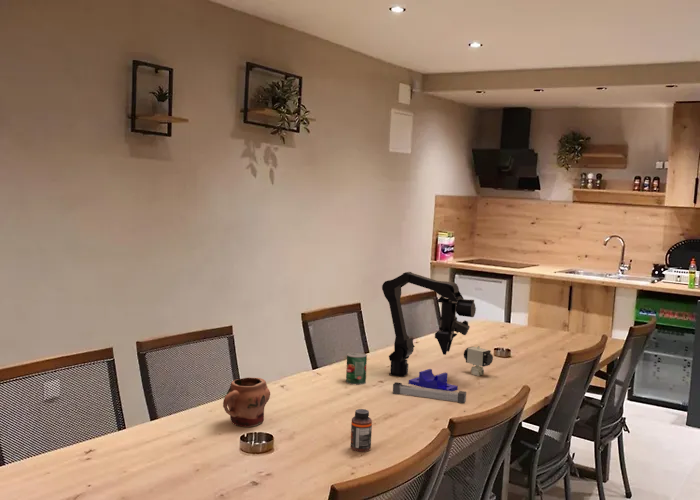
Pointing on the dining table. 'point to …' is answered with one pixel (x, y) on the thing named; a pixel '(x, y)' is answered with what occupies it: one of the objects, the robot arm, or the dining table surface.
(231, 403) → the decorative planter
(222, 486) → the dining table surface
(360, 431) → the supplement bottle
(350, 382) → the canned tomato
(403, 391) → the rail
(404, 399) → the dining table surface
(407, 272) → the robot arm
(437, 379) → the mounting bracket
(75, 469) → the dining table surface
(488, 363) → the pneumatic valve
